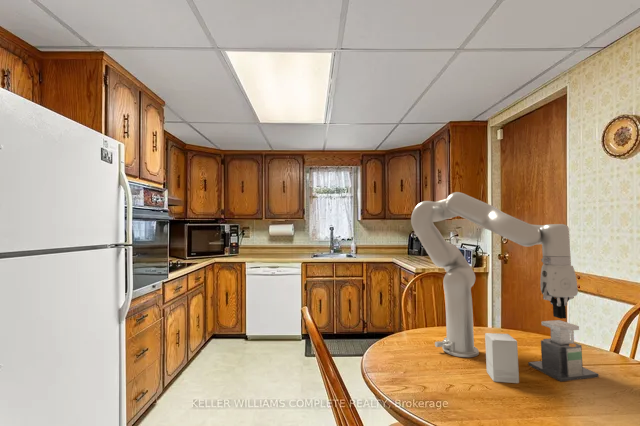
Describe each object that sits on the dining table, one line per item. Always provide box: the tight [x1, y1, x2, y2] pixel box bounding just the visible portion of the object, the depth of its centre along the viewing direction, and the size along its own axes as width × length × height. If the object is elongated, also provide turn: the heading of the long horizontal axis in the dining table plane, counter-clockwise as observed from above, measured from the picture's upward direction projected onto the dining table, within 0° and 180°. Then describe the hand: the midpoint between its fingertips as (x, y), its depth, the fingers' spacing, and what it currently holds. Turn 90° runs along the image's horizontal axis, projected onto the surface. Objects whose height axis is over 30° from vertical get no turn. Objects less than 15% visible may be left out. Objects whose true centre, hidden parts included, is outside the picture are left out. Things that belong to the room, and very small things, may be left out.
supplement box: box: [484, 332, 520, 384], centre depth 103 cm, size 7×7×13 cm
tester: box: [527, 337, 600, 382], centre depth 106 cm, size 14×12×9 cm
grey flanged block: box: [541, 319, 580, 346], centre depth 105 cm, size 7×9×9 cm
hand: (559, 317), depth 107 cm, fingers closed
